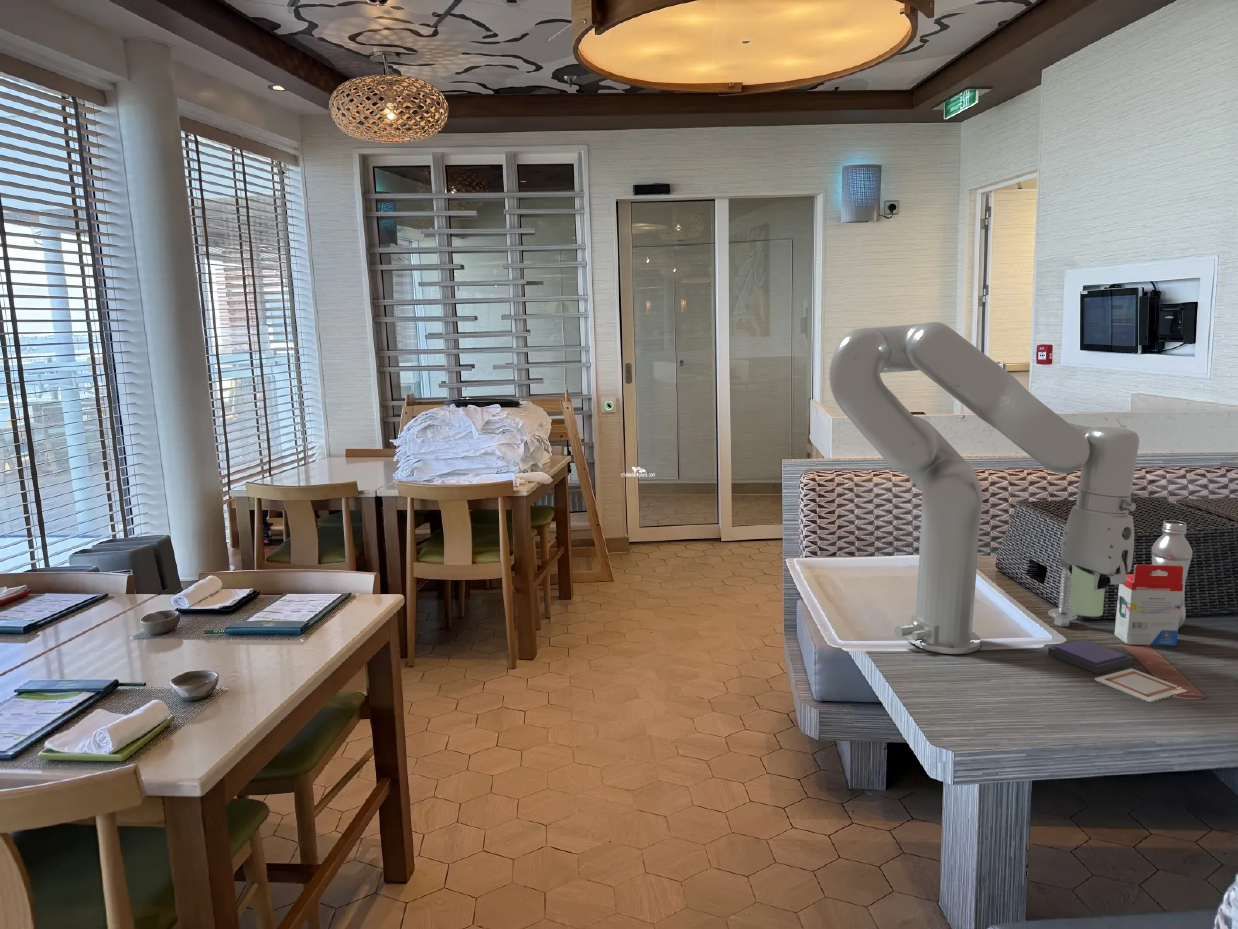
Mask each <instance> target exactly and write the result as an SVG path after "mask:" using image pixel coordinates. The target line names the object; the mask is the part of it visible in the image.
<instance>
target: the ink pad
mask: <svg viewBox="0 0 1238 929" xmlns="http://www.w3.org/2000/svg"><path fill="white" fill-rule="evenodd" d="M1047 649H1048V651H1047V654H1048V655H1049V656H1051V657H1054V658H1055V659H1056V658H1057V659H1058V660H1062V661H1064V662H1066V663H1068V664H1071V665H1073V666H1076V667H1079V668H1081V669H1083V670H1087V671H1089V672H1092V673H1094V674H1096V675H1097V674H1101V673H1103V672H1108V671H1111V670H1116V669H1120V668H1124V667H1127V666H1131V665H1133V664H1134V657H1133V656H1131V655H1127V654H1125V653H1124V652H1120V651H1117V650H1115V649H1112V648H1109V647H1106V646H1103V645H1101V644H1098V643H1095V642H1093V641H1090V640H1087V639H1085V638H1083V639H1080V640H1079V639H1078V640H1074V641H1071V642H1067V643H1063V644H1058V645H1054V646H1050V647H1048V648H1047Z"/></svg>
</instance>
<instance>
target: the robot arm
mask: <svg viewBox="0 0 1238 929" xmlns="http://www.w3.org/2000/svg"><path fill="white" fill-rule="evenodd" d="M829 365H830V366H829V375H828V378H829V379H828V380H829V386H830V390H831V392H832V395H833V398H834V400H835V402H836V404H837V405H838V407H839V409H840V410H842V412H843V413H844V414H845V416H846V417H847V419H849V420H850V421H851V423H852V424H853V425H854V426H855V427H856V428H857V430H859V432H860V433H861V434H862V436H863V437H864V438H865V439H866V440H867V441H868V442H869V443H870V445H871V446H873V448H874V449H875V450H876V451H877V452H878V453H879V454H880V456H881V457H882V458H883V460H884V461H885V462H886V463H887V464H888V466H889V467H891V468H892V469H893V470H895V471H897V472H898V473H901V474H904V475H905V476H907V478H909V480H911V482H912V483H913V484H914V485H915V486H916V487H917V488H918V489H919V490H920V491H921V492H922V494H921V511H920V512H921V513H920V514H921V515H920V532H919V533H920V534H919V549H918V551H919V552H918V571H917V572H918V575H917V589H916V608H915V615H912V616H911V621H910V622H908V624H904V625H903V624H902V625H897V626H896V627H895V628H894V634H895V636H896V637H898V638H904V637H905V639H906V638H907V639H909V640H915V641H917V640H922V641H920V644H921V646H922V647H923V649H922V650H925V651H929V652H932V653H939V654H948V655H965V654H972V653H973V652H976V651H978V650H980V648H981V646H980V642H978V643H974V642H973V641H972V642H970V641H971V640H981V641H982V638H980V636H979V635H978V634H976V633H975V632H973V627H974V626H973V625H974V624H973V623H974V611H975V610H974V608H975V598H976V597H975V596H976V594H975V593H976V584H977V582H976V581H977V568H978V567H977V566H978V550H979V538H980V537H979V536H980V528H981V519H982V511H983V499H984V498H983V490H982V486H981V483H980V480H979V477H978V475H977V473H976V471H975V470H974V468H973V467H972V466H971V465H970V464H969V463H968V462H967V460H965V458H964V457H962V455H961V454H960V453H959V452H958V451H957V450H956V449H955V448H954V447H953V446H952V444H951V443H949V442H948V440H947V439H946V438H945V437H944V436H943V435H942V434H941V433H940V431H938V430H937V429H936V428H935V427H934V426H933V425H932V424H931V423H930V422H929V421H928V420H926V419H924V418H922V417H919V416H915V415H913V414H912V412H910V411H909V410H908V408H906V406H904V404H903V403H902V402H901V401H900V400H899V398H898V397H897V396H896V395H895V394H894V393H893V392H892V391H891V390H890V389H889V388H888V386H886V385H885V383H884V382H883V380H882V377H881V374H885V373H900V372H901V373H902V372H904V373H905V372H915V371H917V372H918V371H920V372H922V374H924V375H925V376H926V377H928V378H929V379H930V380H931V381H932V382H934V383H936V384H937V385H938V386H939V387H941V388H942V389H943V390H944V391H946V392H947V393H948V394H949V395H951V396H952V397H953V398H954V399H956V400H957V401H958V402H959V403H961V404H962V405H963V406H964V407H966V408H967V409H968V410H970V411H971V412H972V413H973V414H975V416H977V417H978V418H979V419H981V420H982V421H984V422H985V423H987V424H989V425H990V426H991V427H993V428H994V429H995V430H996V431H999V433H1001V435H1003V436H1005V438H1007V439H1008V440H1010V442H1012V443H1013V444H1014V445H1015V446H1016V447H1018V448H1019V449H1021V450H1022V451H1024V452H1025V454H1027V455H1028V456H1030V457H1031V458H1032V459H1033V460H1035V461H1036V462H1037V463H1039V464H1040V465H1041V466H1043V468H1045V469H1046V470H1048V471H1050V472H1053V473H1054V474H1055V473H1056V474H1060V475H1061V474H1062V475H1065V474H1071V473H1074V472H1076V471H1079V470H1080V476H1079V484H1078V489H1077V495H1076V502H1075V505H1072V508H1071V510H1070V513H1069V516H1068V517H1067V521H1066V525H1065V529H1064V530H1063V536H1062V542H1061V548H1060V557H1061V558H1060V561H1059V565H1061V566H1062V568H1063V567H1064V568H1066V569H1067V570H1069V571H1070V573H1071V575H1072V566H1073V565H1076V566H1077V567H1078V568H1079V569H1081V570H1085V569H1087V570H1088V571H1089V570H1090V571H1093V575H1094V576H1095V582H1094V585H1095V586H1096V587H1094V588H1096V589H1095V590H1098V589H1105V590H1106V589H1107V588H1108V587H1110V586H1111V585H1119V584H1125V583H1126V582H1127V579H1126V574H1129V573H1130V572H1131V570H1132V566H1133V561H1134V560H1133V559H1134V549H1135V548H1134V547H1135V526H1134V524H1135V523H1134V518H1133V516H1134V515H1130V514H1129V513H1130V512H1134V511H1135V510H1136V508H1137V504H1136V503H1134V502H1132V500H1131V499H1132V497H1131V495H1132V492H1133V484H1134V479H1135V478H1134V477H1135V471H1136V466H1137V459H1138V452H1139V448H1140V447H1139V446H1140V437H1139V435H1138V433H1137V432H1135V431H1133V430H1130V429H1126V428H1121V427H1112V426H1111V427H1110V426H1097V427H1096V426H1095V427H1093V426H1086V425H1081V424H1077V423H1076V424H1074V423H1073V422H1068V421H1067V420H1065V419H1064V418H1062V417H1061V416H1060V415H1059V414H1057V413H1056V412H1055V411H1053V410H1052V409H1051V408H1050V407H1048V406H1047V405H1046V404H1044V403H1043V402H1042V401H1040V400H1039V399H1038V398H1037V397H1036V396H1034V395H1033V394H1032V393H1031V392H1030V391H1029V390H1027V389H1026V388H1025V387H1024V386H1023V385H1022V384H1021V383H1020V382H1019V380H1018V379H1017V378H1016V377H1015V376H1014V375H1012V374H1011V373H1010V372H1009V371H1007V370H1006V369H1005V368H1004V367H1002V366H1001V365H999V364H998V363H997V362H995V361H994V360H993V359H992V358H990V357H989V356H988V355H986V354H985V353H984V352H983V351H981V350H980V349H979V348H977V347H976V346H975V345H973V344H972V343H971V342H969V341H968V340H967V339H966V338H965V337H964V336H962V335H961V334H959V333H958V332H957V331H955V330H954V329H953V328H952V327H951V326H948V325H947V324H945V323H942V322H938V321H931V322H929V321H928V322H923V323H915V324H905V325H904V324H903V325H890V326H876V327H863V328H861V327H860V328H857V329H853V330H851V331H849V332H848V333H846V334H845V335H844V336H843V337H842V338H841V339H840V341H838V344H837V345H836V348H835V350H834V353H833V355H832V356H831V361H830V364H829ZM1102 576H1105V577H1103V578H1101V577H1102ZM907 639H906V640H907Z"/></svg>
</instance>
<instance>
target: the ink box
mask: <svg viewBox="0 0 1238 929" xmlns="http://www.w3.org/2000/svg"><path fill="white" fill-rule="evenodd" d="M1157 570H1160V571H1165V572H1167V574H1166V575H1152V574H1151V573H1152V571H1157ZM1182 577H1183V566H1170V565H1152V564H1136V565H1134V566H1133V573H1132V574H1129V573H1126V579H1127V582H1126V583H1125V584H1118V590H1117V591H1118V594H1117V603H1116V613H1115V614H1116V616H1115V625H1114V627H1115V628H1114V636H1116V637H1117V638H1118V639H1119V640H1121V641H1122V642H1124V644H1126V645H1133V646H1135V645H1138V646H1164V647H1166V646H1168V647H1169V646H1170V647H1175V646H1177V643H1178V634H1179V628H1178V625H1179V617H1180V608H1181V599H1182V590H1183V583H1182Z"/></svg>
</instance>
